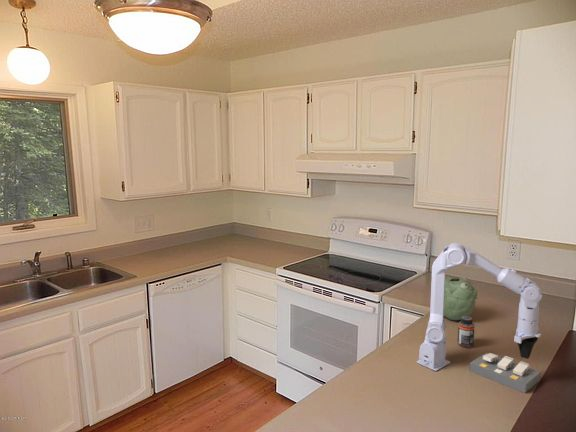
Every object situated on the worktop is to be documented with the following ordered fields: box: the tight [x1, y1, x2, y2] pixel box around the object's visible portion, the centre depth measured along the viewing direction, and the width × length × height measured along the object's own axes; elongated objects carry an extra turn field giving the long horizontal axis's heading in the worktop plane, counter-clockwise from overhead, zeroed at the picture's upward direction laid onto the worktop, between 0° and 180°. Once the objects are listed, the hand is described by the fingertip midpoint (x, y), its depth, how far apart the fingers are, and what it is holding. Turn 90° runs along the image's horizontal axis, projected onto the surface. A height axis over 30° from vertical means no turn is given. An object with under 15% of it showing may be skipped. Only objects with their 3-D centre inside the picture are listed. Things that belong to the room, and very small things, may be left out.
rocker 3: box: [513, 360, 530, 376], centre depth 137 cm, size 6×3×1 cm, turn 129°
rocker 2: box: [497, 355, 515, 370], centre depth 141 cm, size 6×3×1 cm, turn 129°
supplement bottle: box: [457, 315, 476, 349], centre depth 163 cm, size 6×6×11 cm
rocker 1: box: [483, 352, 500, 362], centre depth 145 cm, size 6×3×1 cm, turn 130°
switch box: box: [469, 351, 542, 394], centre depth 141 cm, size 12×18×5 cm, turn 39°
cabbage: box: [444, 276, 478, 321], centre depth 189 cm, size 16×19×20 cm
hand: (524, 357), depth 139 cm, fingers closed
